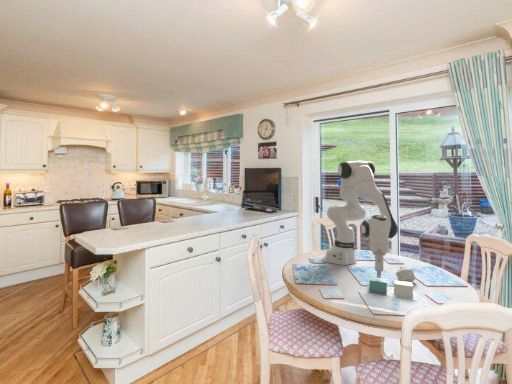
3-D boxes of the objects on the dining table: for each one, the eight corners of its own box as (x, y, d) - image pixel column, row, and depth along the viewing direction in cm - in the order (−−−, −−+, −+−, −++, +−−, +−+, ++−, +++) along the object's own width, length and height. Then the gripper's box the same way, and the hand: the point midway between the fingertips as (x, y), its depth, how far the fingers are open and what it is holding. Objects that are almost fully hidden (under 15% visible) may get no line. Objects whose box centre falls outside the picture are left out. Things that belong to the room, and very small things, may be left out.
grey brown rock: (402, 288, 145) (416, 274, 143) (389, 275, 152) (402, 262, 149) (408, 289, 151) (421, 276, 148) (395, 276, 157) (408, 264, 155)
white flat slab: (367, 294, 136) (367, 292, 136) (367, 284, 148) (367, 282, 148) (417, 302, 128) (417, 300, 127) (414, 291, 139) (414, 289, 139)
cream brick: (394, 293, 135) (394, 283, 135) (393, 289, 140) (394, 280, 139) (413, 296, 132) (413, 286, 131) (411, 292, 136) (412, 282, 136)
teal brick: (369, 289, 140) (369, 280, 139) (369, 286, 144) (369, 276, 144) (386, 292, 136) (386, 282, 136) (386, 288, 141) (386, 279, 141)
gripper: (386, 253, 128) (386, 282, 128) (385, 243, 146) (384, 268, 147) (372, 252, 130) (371, 280, 131) (372, 242, 149) (372, 267, 150)
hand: (378, 274), depth 139 cm, fingers open, 8 cm apart
